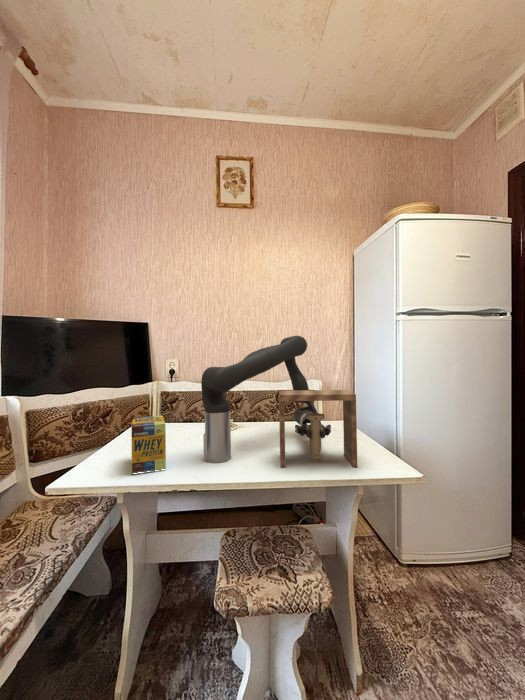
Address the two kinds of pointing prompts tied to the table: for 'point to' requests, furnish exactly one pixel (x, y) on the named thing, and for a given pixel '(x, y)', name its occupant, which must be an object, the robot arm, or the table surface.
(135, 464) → the protein box
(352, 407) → the shelf
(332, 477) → the table surface
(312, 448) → the handle
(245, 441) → the table surface
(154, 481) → the table surface
